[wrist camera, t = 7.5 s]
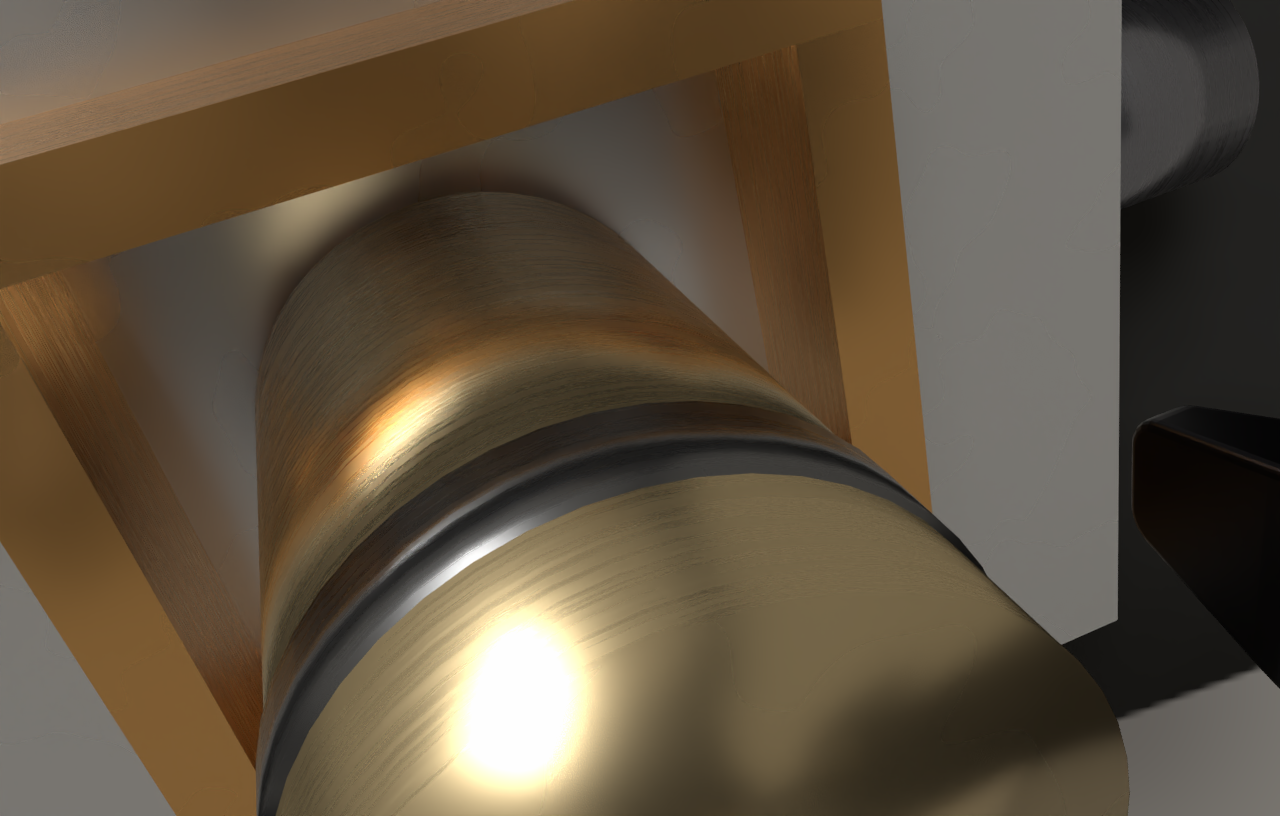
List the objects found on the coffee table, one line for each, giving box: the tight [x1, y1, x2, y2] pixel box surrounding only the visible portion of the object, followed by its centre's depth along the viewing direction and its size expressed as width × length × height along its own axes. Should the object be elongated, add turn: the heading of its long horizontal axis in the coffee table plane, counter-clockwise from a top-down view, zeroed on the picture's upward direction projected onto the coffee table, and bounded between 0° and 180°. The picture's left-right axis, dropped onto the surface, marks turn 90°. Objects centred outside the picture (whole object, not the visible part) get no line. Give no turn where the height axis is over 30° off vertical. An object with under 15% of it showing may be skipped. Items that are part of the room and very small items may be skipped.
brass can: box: [255, 192, 1130, 816], centre depth 8 cm, size 5×5×7 cm
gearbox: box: [0, 0, 1259, 816], centre depth 13 cm, size 19×14×7 cm
